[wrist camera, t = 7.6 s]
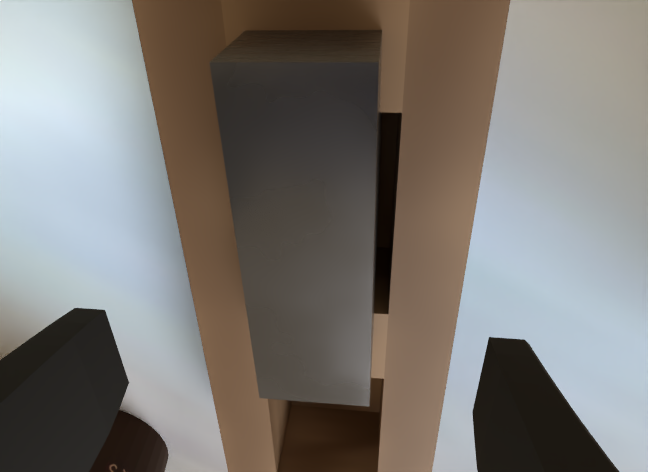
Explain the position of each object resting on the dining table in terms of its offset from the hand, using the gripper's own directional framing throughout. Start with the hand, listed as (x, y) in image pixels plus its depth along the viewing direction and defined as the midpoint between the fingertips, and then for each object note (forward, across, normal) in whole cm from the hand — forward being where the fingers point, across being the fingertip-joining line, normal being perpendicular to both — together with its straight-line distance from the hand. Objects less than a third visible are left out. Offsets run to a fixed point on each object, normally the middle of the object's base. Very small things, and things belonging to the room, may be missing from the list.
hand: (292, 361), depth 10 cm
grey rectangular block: (+8, 0, 0) cm, 8 cm away
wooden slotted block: (+9, 0, +4) cm, 10 cm away
